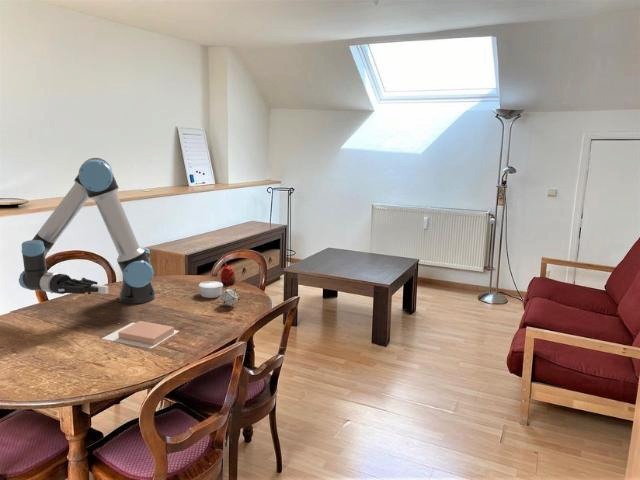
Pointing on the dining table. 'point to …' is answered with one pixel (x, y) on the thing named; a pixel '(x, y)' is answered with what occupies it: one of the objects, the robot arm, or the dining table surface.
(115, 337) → the rubber mat
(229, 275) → the red clay folk toy
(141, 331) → the terracotta tile
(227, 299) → the game die
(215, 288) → the ramekin
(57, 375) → the dining table surface
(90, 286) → the robot arm
